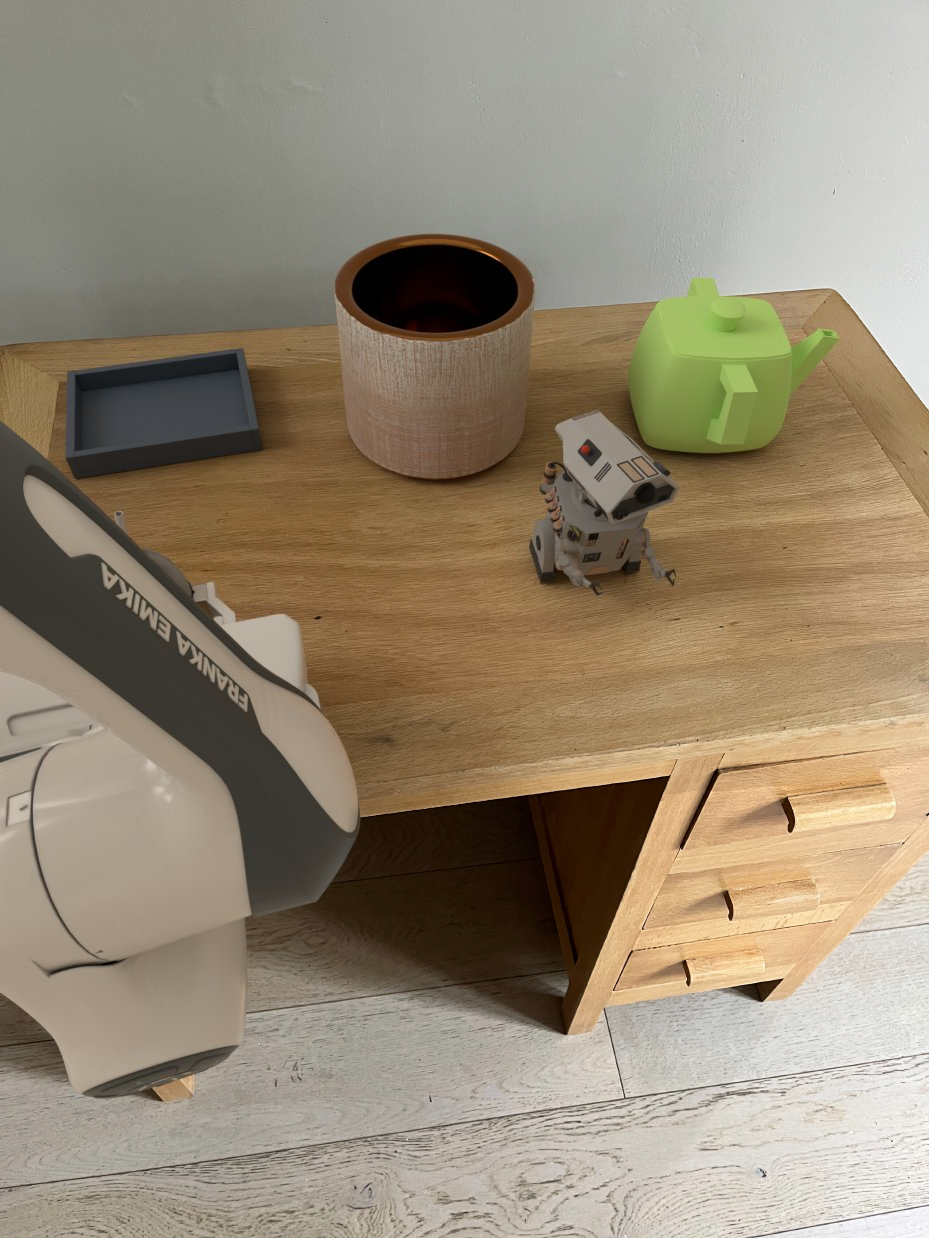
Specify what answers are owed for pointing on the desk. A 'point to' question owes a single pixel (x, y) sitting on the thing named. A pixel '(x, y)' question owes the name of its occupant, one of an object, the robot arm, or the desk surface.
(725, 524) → the desk surface
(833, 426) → the desk surface
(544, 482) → the figurine
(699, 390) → the teapot
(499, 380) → the planter
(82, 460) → the tray
